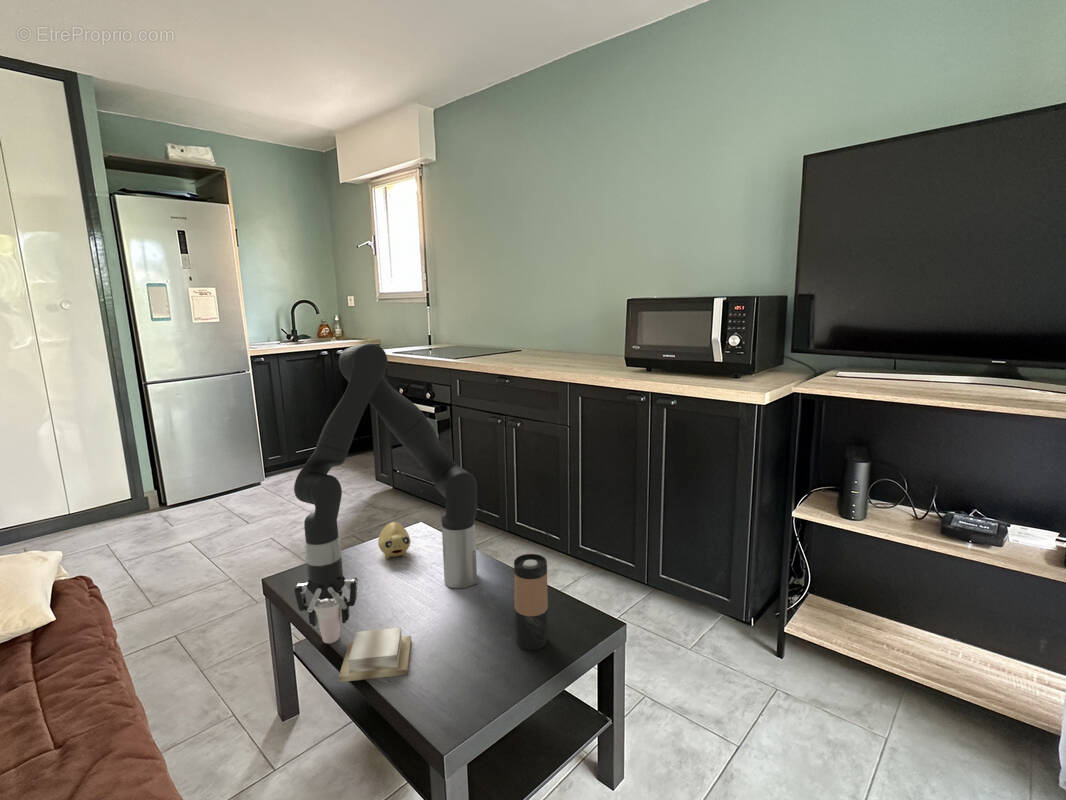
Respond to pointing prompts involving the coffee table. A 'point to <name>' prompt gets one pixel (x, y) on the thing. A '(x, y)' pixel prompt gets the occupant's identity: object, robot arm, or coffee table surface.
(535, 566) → the travel mug
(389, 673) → the base
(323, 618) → the smoothie
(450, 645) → the coffee table surface
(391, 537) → the yellow toy creature
